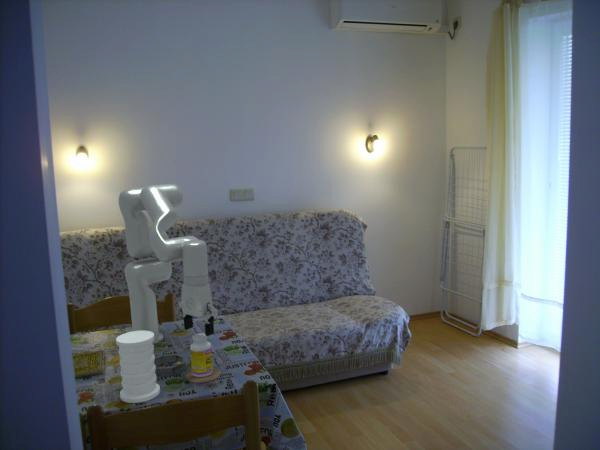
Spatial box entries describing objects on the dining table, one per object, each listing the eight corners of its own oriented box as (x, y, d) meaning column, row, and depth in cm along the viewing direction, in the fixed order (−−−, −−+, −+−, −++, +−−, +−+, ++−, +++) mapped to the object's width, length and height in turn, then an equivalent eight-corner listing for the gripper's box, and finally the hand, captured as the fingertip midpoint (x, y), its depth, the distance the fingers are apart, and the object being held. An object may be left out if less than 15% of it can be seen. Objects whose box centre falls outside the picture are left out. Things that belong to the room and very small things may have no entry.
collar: (141, 370, 179) (140, 361, 179) (170, 358, 189) (170, 349, 188) (165, 379, 172) (164, 369, 171) (194, 365, 181) (194, 356, 181)
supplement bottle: (208, 378, 169) (205, 339, 167) (188, 377, 170) (185, 338, 169) (216, 370, 176) (213, 332, 174) (196, 369, 177) (194, 331, 175)
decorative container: (126, 386, 167) (120, 331, 165) (163, 384, 168) (159, 329, 165) (115, 404, 156) (109, 344, 153) (155, 401, 156) (150, 342, 154)
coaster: (178, 378, 172) (178, 376, 172) (204, 366, 180) (204, 364, 180) (202, 386, 165) (202, 384, 165) (227, 373, 174) (227, 371, 174)
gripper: (168, 278, 171) (172, 329, 174) (206, 286, 160) (209, 341, 163) (186, 273, 177) (189, 323, 179) (224, 280, 166) (226, 333, 169)
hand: (199, 331), depth 171 cm, fingers open, 9 cm apart
